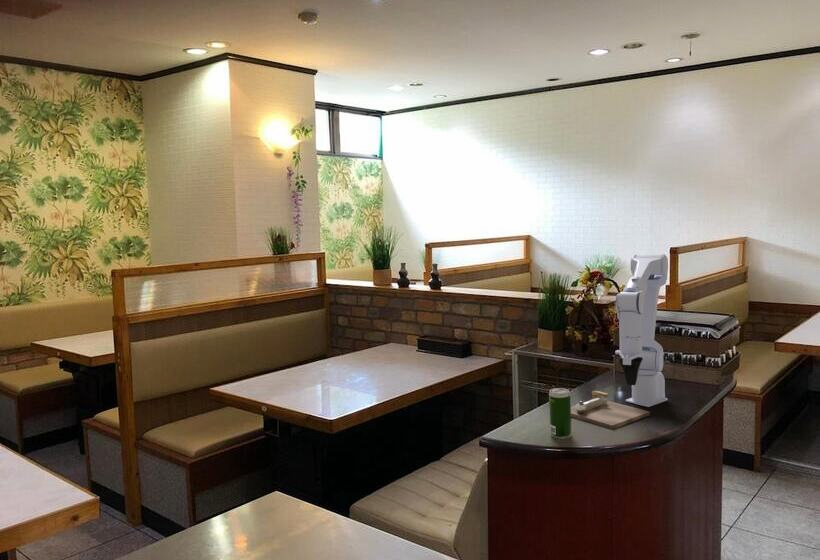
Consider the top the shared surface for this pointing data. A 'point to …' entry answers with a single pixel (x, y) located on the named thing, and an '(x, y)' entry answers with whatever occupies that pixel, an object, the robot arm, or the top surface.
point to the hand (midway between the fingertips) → (631, 384)
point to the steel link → (590, 404)
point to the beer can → (560, 413)
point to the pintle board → (609, 413)
